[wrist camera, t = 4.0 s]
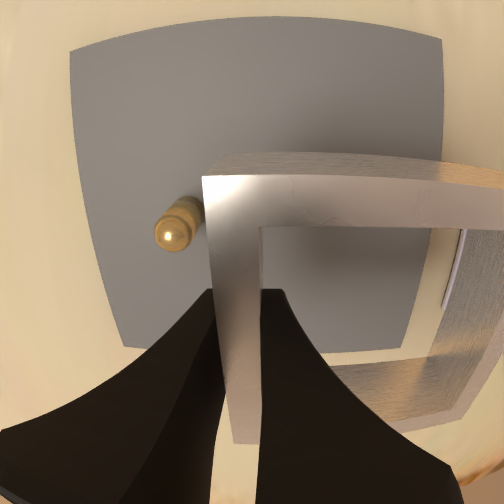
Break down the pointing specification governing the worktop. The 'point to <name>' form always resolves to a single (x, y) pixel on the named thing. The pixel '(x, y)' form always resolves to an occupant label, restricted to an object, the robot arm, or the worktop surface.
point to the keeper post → (179, 224)
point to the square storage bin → (359, 215)
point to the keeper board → (253, 140)
